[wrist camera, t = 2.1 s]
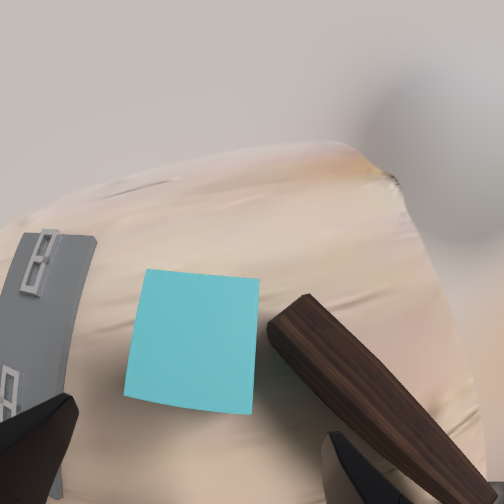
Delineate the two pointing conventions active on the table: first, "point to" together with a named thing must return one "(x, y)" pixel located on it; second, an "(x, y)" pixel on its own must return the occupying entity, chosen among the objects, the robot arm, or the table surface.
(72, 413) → the robot arm
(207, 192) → the table surface
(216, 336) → the teal block
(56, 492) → the rubber mat
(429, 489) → the hammer
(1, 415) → the steel chain
